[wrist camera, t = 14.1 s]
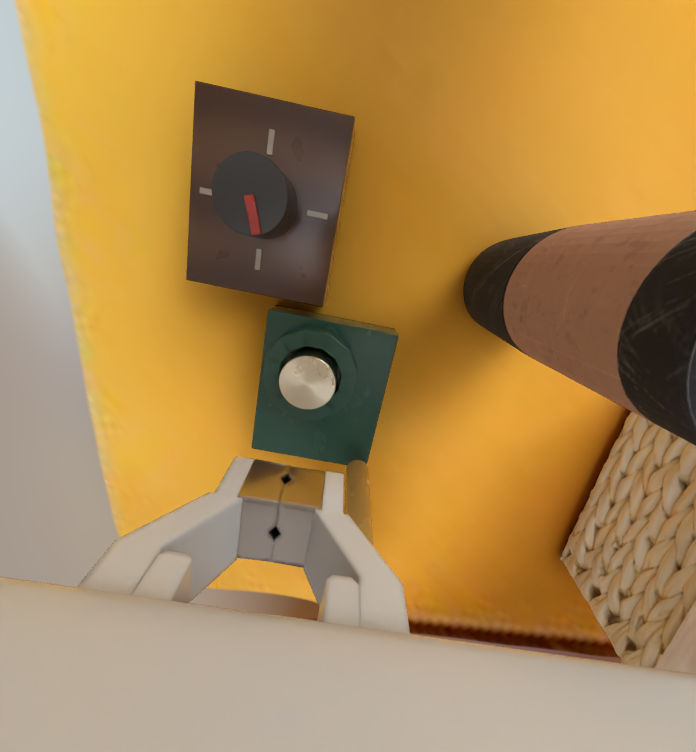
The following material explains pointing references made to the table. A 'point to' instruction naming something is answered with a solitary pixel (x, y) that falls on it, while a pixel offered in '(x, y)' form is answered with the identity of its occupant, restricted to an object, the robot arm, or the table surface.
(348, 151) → the dimmer
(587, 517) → the basket
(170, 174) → the table surface
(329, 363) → the power button
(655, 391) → the travel mug
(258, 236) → the dimmer knob
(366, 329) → the lamp base
